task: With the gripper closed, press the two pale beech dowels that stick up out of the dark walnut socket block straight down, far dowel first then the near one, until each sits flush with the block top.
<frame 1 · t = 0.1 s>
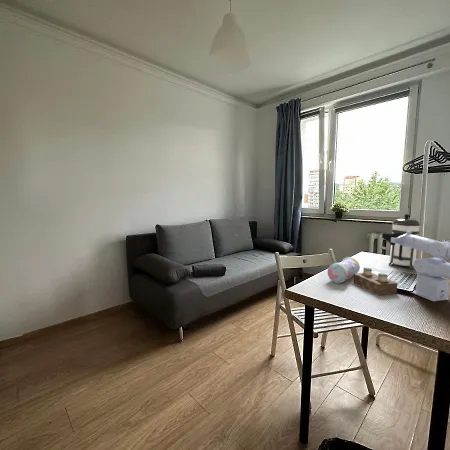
hand: (389, 235, 113), 22 cm above the table, tool horizontal, fingers open, 7 cm apart
pencil case: (343, 279, 117), on the table
peg far: (367, 273, 108), point 5 cm above the table, slide at 0.0 cm
socket block: (373, 287, 105), on the table
coffee press: (402, 266, 136), on the table
peg near: (382, 279, 100), point 5 cm above the table, slide at 0.0 cm
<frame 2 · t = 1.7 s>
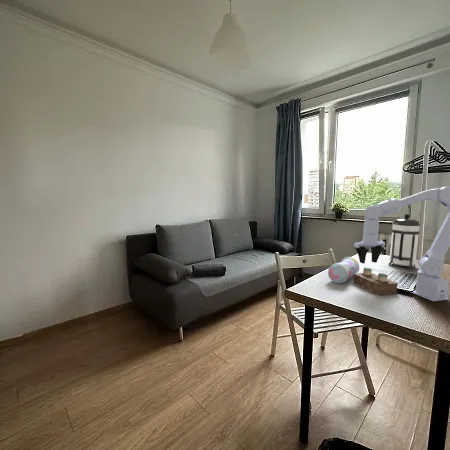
hand: (368, 262, 107), 10 cm above the table, tool pointing down, fingers open, 6 cm apart
nothing on the table moved.
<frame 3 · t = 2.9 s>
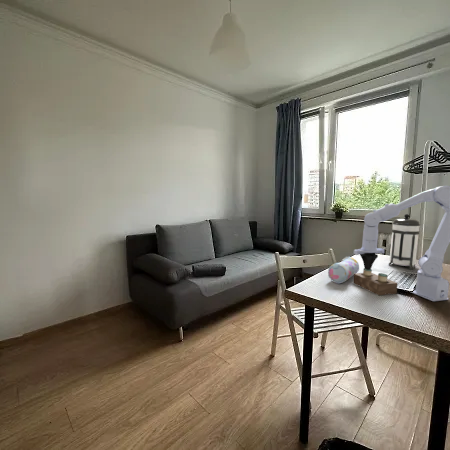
hand: (367, 269, 108), 7 cm above the table, tool pointing down, fingers closed, pressing on peg far
peg far: (367, 273, 108), point 5 cm above the table, slide at 0.3 cm, touching gripper
everything else where it was.
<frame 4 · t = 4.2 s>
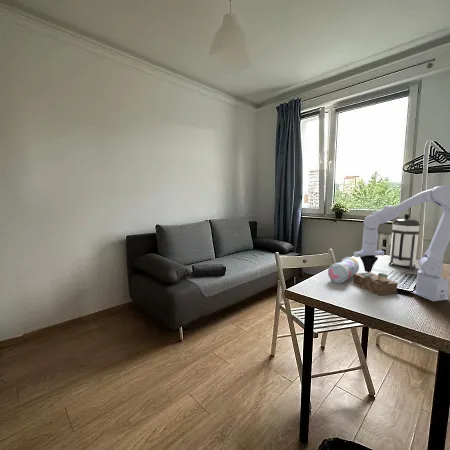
hand: (367, 271, 108), 6 cm above the table, tool pointing down, fingers closed
peg far: (366, 279, 108), point 2 cm above the table, slide at 3.1 cm
everything else where it was.
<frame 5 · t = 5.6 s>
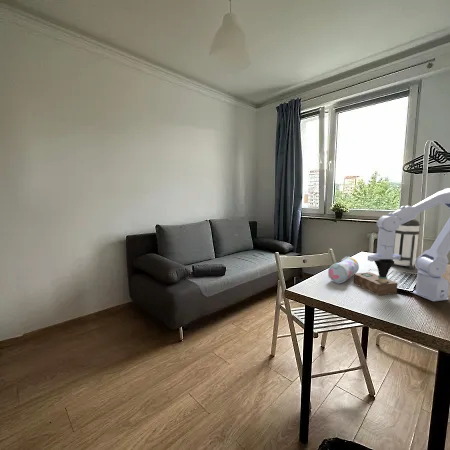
hand: (382, 276, 100), 6 cm above the table, tool pointing down, fingers closed, pressing on peg near
peg near: (382, 281, 100), point 4 cm above the table, slide at 1.0 cm, touching gripper
everything else where it was.
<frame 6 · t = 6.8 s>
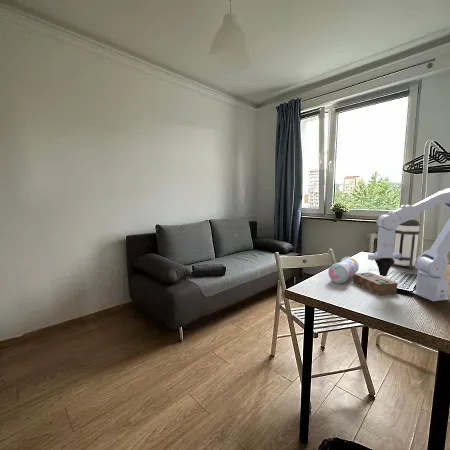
hand: (383, 275, 100), 7 cm above the table, tool pointing down, fingers closed
peg near: (381, 286, 100), point 2 cm above the table, slide at 3.1 cm
everything else where it was.
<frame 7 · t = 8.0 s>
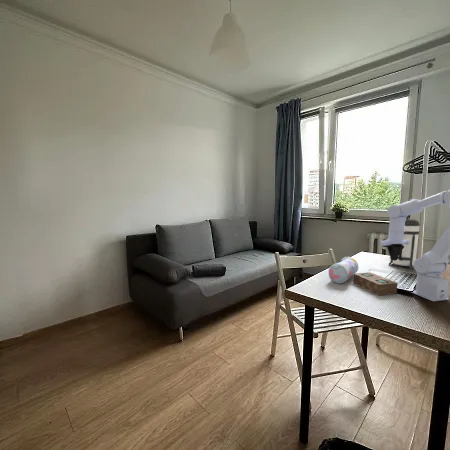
hand: (393, 259, 111), 10 cm above the table, tool pointing down, fingers closed
nothing on the table moved.
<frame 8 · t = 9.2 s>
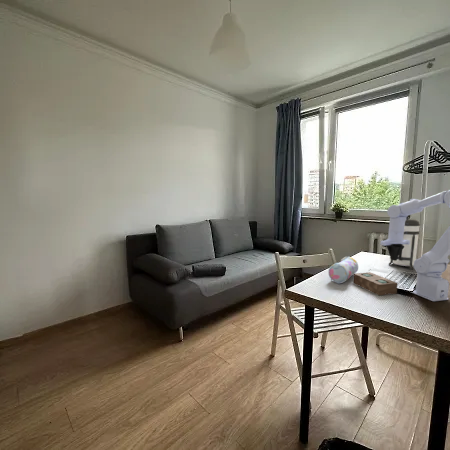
hand: (393, 259, 111), 10 cm above the table, tool pointing down, fingers closed
nothing on the table moved.
at the end: peg far slide at 3.1 cm; peg near slide at 3.1 cm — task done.
